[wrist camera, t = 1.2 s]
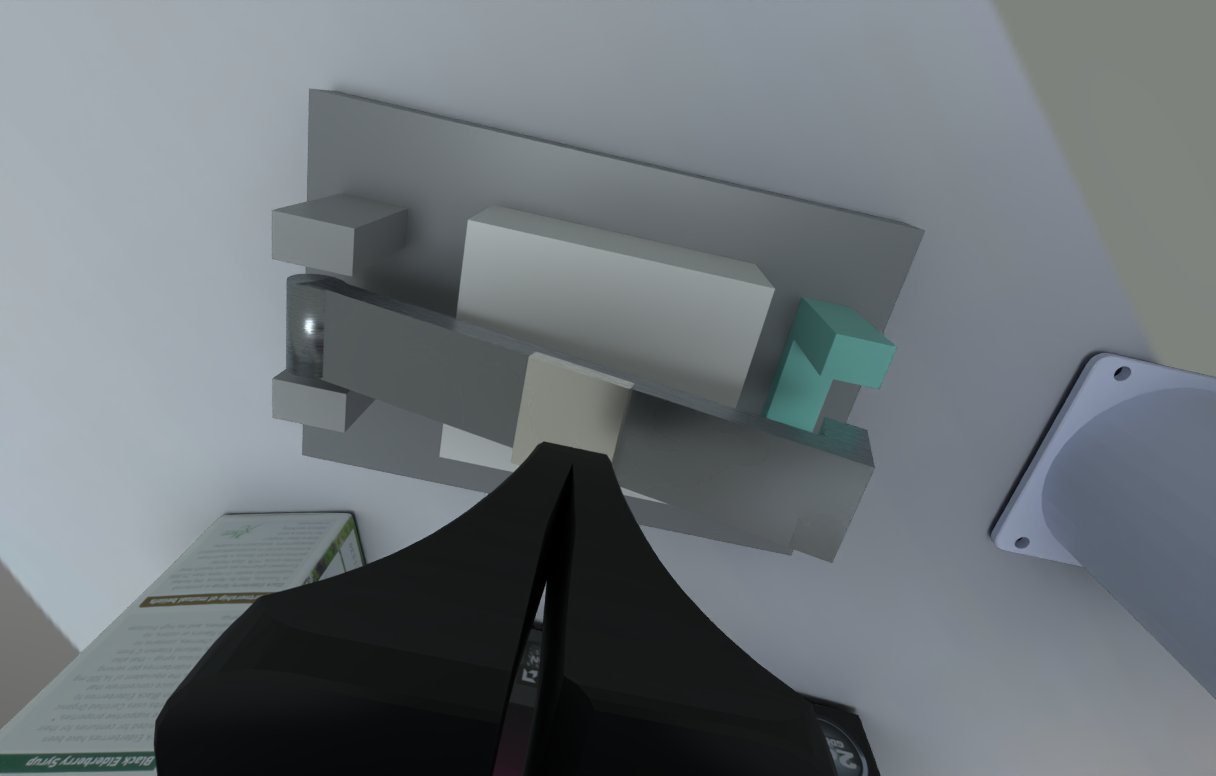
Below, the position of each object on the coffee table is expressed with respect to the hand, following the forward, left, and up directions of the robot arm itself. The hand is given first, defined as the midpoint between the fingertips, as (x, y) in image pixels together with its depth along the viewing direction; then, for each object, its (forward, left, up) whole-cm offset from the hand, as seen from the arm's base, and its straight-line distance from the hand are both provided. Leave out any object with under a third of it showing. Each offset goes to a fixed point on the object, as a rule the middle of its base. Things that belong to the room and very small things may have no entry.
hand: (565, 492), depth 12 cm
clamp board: (0, +1, -10) cm, 10 cm away
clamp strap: (0, 0, -5) cm, 5 cm away
